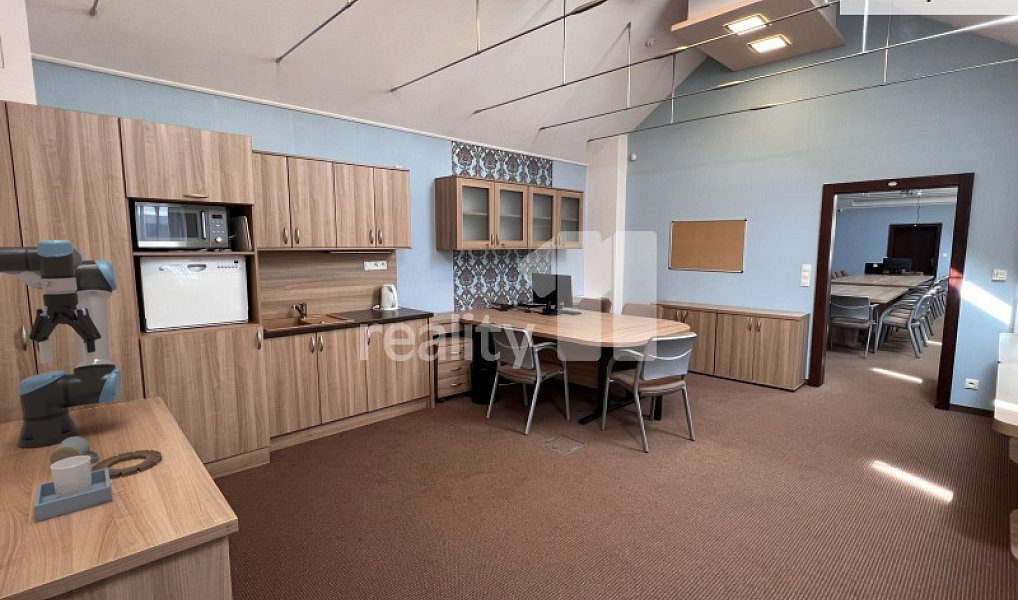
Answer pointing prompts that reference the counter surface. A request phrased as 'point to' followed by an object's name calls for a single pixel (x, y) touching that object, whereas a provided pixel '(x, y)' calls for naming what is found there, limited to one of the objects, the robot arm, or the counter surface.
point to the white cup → (71, 476)
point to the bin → (71, 497)
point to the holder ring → (149, 455)
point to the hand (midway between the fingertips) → (68, 362)
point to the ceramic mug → (73, 449)
